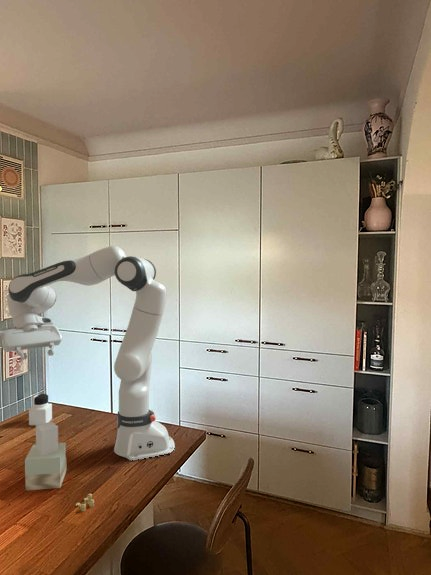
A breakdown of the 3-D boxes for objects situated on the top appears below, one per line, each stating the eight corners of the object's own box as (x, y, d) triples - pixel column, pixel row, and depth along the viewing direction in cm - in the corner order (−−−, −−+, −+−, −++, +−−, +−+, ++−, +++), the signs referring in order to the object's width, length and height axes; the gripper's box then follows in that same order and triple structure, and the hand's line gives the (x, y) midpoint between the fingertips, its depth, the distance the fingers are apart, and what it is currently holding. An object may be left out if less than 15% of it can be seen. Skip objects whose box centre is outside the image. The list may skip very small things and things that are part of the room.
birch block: (66, 471, 131) (66, 457, 131) (60, 488, 122) (60, 473, 121) (34, 474, 130) (34, 459, 129) (25, 491, 120) (25, 475, 119)
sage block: (65, 457, 131) (65, 442, 131) (60, 472, 121) (60, 457, 121) (33, 459, 129) (33, 444, 129) (25, 475, 119) (24, 459, 119)
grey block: (36, 450, 125) (35, 425, 124) (51, 445, 128) (51, 421, 128) (41, 456, 121) (41, 430, 121) (58, 450, 125) (57, 426, 124)
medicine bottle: (52, 419, 174) (52, 392, 173) (45, 425, 167) (45, 397, 166) (35, 419, 174) (35, 392, 173) (28, 425, 167) (28, 397, 166)
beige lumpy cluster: (90, 499, 117) (90, 493, 117) (98, 507, 113) (98, 501, 113) (73, 505, 114) (73, 499, 114) (81, 514, 110) (81, 508, 110)
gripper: (-1, 323, 138) (9, 356, 132) (57, 318, 153) (68, 347, 147) (-5, 334, 142) (4, 366, 136) (52, 328, 156) (63, 357, 150)
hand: (38, 356), depth 141 cm, fingers open, 8 cm apart
